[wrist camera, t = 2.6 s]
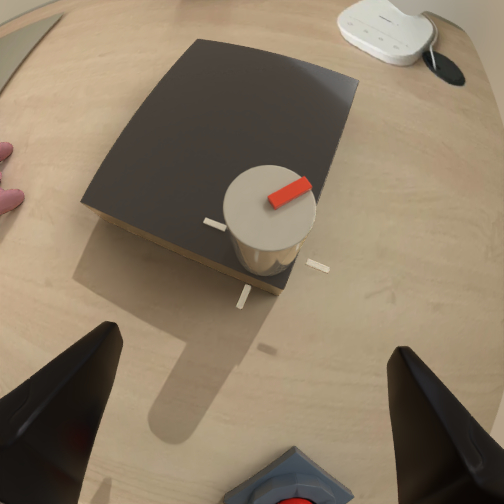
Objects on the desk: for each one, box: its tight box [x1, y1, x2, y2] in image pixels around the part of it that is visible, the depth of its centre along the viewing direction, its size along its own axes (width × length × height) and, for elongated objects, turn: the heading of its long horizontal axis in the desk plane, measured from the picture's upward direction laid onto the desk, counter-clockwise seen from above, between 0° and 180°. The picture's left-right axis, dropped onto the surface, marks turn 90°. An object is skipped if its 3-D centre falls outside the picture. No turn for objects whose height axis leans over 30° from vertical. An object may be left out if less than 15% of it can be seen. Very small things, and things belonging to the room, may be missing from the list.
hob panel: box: [80, 39, 359, 310], centre depth 21 cm, size 20×17×4 cm
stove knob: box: [223, 165, 316, 276], centre depth 14 cm, size 4×4×6 cm
